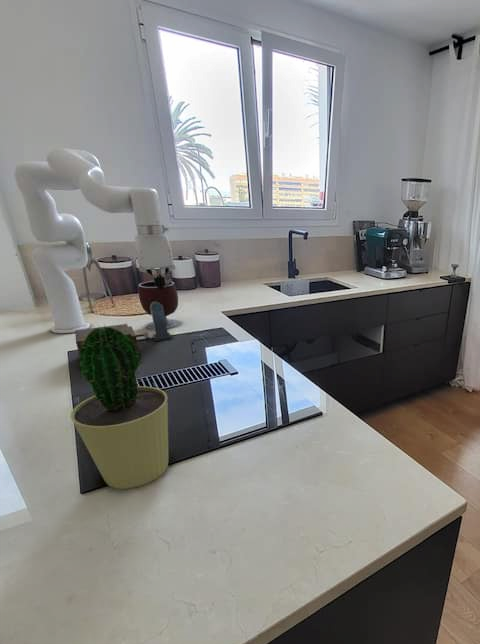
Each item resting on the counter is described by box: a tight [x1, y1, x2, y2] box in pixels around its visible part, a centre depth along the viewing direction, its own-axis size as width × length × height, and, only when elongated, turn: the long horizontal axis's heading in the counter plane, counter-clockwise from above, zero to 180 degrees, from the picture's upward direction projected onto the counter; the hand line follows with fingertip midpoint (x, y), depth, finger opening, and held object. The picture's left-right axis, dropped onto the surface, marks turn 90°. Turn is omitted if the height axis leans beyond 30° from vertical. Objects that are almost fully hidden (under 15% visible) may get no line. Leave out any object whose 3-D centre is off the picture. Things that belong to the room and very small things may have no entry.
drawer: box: [128, 325, 152, 358], centre depth 129 cm, size 18×11×7 cm, turn 124°
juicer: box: [82, 241, 115, 313], centre depth 177 cm, size 10×11×30 cm
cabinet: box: [74, 323, 132, 356], centre depth 127 cm, size 15×13×9 cm
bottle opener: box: [150, 301, 173, 342], centre depth 145 cm, size 5×6×14 cm
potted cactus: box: [70, 324, 170, 490], centre depth 72 cm, size 15×15×30 cm
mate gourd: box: [138, 278, 181, 330], centre depth 158 cm, size 16×14×20 cm
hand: (160, 288), depth 131 cm, fingers closed
